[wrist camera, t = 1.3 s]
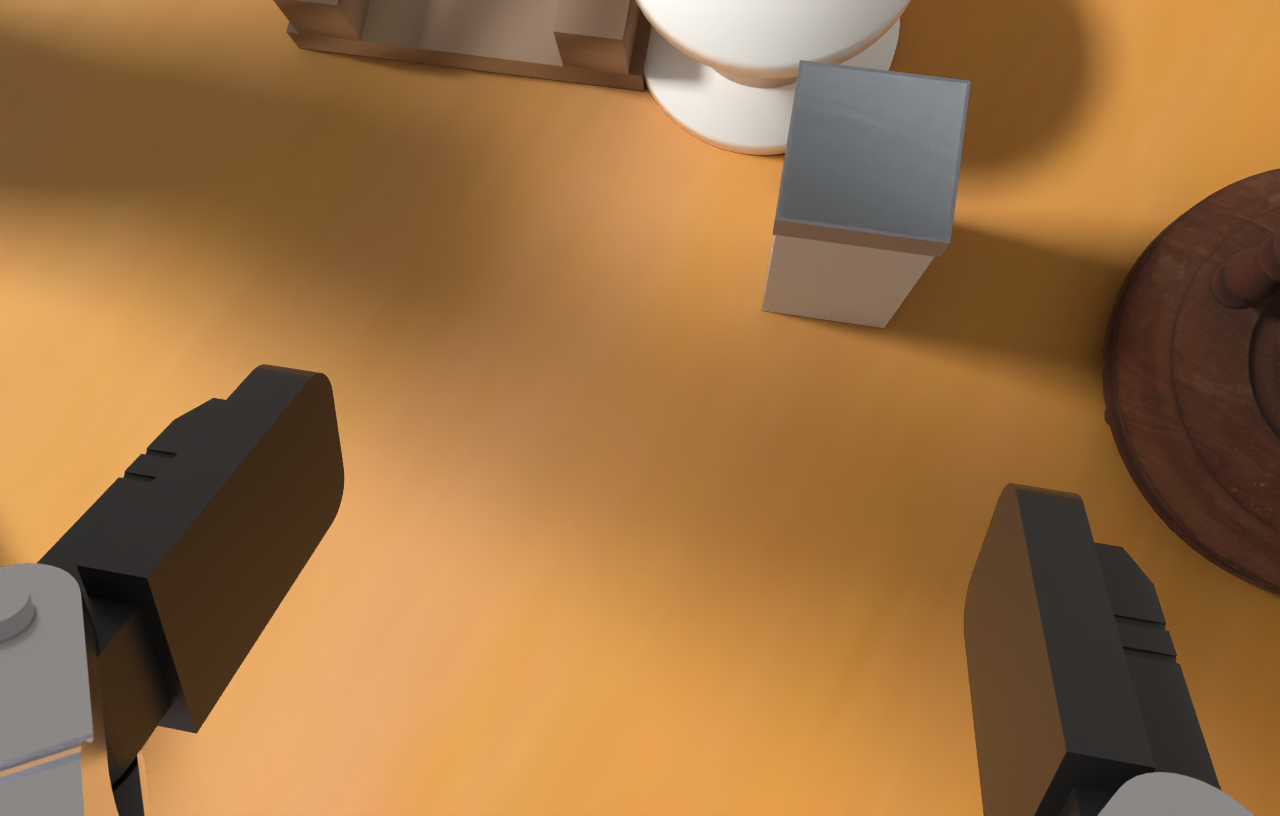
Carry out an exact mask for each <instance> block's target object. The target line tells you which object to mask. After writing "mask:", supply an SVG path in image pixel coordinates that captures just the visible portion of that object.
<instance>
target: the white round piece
mask: <svg viewBox="0 0 1280 816" xmlns="http://www.w3.org/2000/svg"><path fill="white" fill-rule="evenodd" d="M635 1H636V3H637V4H638V6H639V8H640V9H641V11H642V13H643V14H644V16H645V17H646V19H647V20H648V21H649V22H650V24H651V25H652V26H651V31H650V37H649V42H648V48H647V54H646V59H645V65H644V78H645V84H646V86H647V88H648V90H649V92H650V93H651V95H652V97H653V98H654V100H655V101H656V103H657V104H658V105H659V106H660V108H661V109H662V110H663V111H664V113H665V114H666V115H667V116H668V117H669V118H670V119H671V120H672V121H673V122H675V123H676V124H677V125H678V126H679V127H681V128H682V129H683V130H685V131H686V132H687V133H689V134H690V135H692V136H694V137H696V138H698V139H699V140H701V141H703V142H705V143H707V144H710V145H713V146H715V147H718V148H720V149H724V150H728V151H732V152H736V153H743V154H752V155H774V154H782V153H785V151H786V144H787V138H788V131H789V125H790V118H791V112H792V105H793V99H794V93H795V86H796V80H797V74H798V68H799V62H800V60H804V61H813V62H821V63H829V64H838V65H846V66H854V67H862V68H871V69H879V70H887V71H889V68H890V66H891V63H892V60H893V57H894V54H895V50H896V46H897V43H898V37H899V29H900V16H901V15H902V14H903V13H904V11H905V9H906V8H907V6H908V5H909V3H910V1H911V0H635Z"/></svg>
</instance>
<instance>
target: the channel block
mask: <svg viewBox="0 0 1280 816" xmlns="http://www.w3.org/2000/svg"><path fill="white" fill-rule="evenodd" d="M273 1H274V2H275V3H276V4H277V6H278V7H279V8H280V10H281V11H282V12H283V13H284V15H285V16H286V17H287V19H288V20H289V25H288V29H287V33H288V34H289V36H290V37H291V38H292V39H293V41H294V42H295V43H296V44H297V46H298V47H299V48H304V49H312V50H320V51H328V52H336V53H344V54H352V55H360V56H368V57H376V58H384V59H392V60H399V61H407V62H415V63H423V64H431V65H439V66H447V67H455V68H463V69H471V70H479V71H487V72H495V73H503V74H511V75H519V76H527V77H535V78H543V79H551V80H559V81H567V82H575V83H583V84H591V85H599V86H607V87H615V88H623V89H631V90H639V91H644V87H645V78H644V65H645V59H646V54H647V48H648V42H649V37H650V31H651V26H652V25H651V24H650V22H649V21H648V20H647V19H646V17H645V16H644V14H643V13H642V11H641V9H640V8H639V6H638V4H637V3H636V1H635V0H273Z"/></svg>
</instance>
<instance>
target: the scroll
mask: <svg viewBox="0 0 1280 816" xmlns="http://www.w3.org/2000/svg"><path fill="white" fill-rule="evenodd" d="M1102 376H1103V391H1104V399H1105V405H1106V411H1105V420H1106V423H1107V424H1108V425H1109V426H1110V427H1111V431H1112V434H1113V437H1114V440H1115V443H1116V445H1117V448H1118V450H1119V453H1120V456H1121V458H1122V460H1123V462H1124V464H1125V466H1126V468H1127V470H1128V472H1129V474H1130V476H1131V477H1132V479H1133V481H1134V482H1135V484H1136V485H1137V487H1138V489H1139V490H1140V492H1141V493H1142V495H1143V496H1144V498H1145V499H1146V500H1147V502H1148V503H1149V504H1150V506H1151V507H1152V508H1153V509H1154V511H1155V512H1156V513H1157V514H1158V516H1159V517H1160V518H1161V519H1162V520H1163V521H1164V522H1165V523H1166V524H1167V525H1168V526H1169V527H1170V529H1171V530H1172V531H1173V532H1175V533H1176V534H1177V535H1178V536H1179V537H1180V538H1181V539H1182V540H1183V541H1184V542H1186V543H1187V544H1188V545H1189V546H1190V547H1192V548H1193V549H1194V550H1196V551H1197V552H1198V553H1199V554H1201V555H1202V556H1203V557H1205V558H1206V559H1207V560H1209V561H1211V562H1212V563H1214V564H1215V565H1217V566H1219V567H1220V568H1222V569H1223V570H1225V571H1227V572H1228V573H1230V574H1232V575H1234V576H1236V577H1238V578H1240V579H1242V580H1244V581H1246V582H1248V583H1251V584H1253V585H1256V586H1258V587H1261V588H1263V589H1266V590H1268V591H1271V592H1274V593H1278V594H1280V169H1275V170H1271V171H1267V172H1264V173H1260V174H1257V175H1254V176H1251V177H1248V178H1245V179H1243V180H1240V181H1238V182H1235V183H1233V184H1231V185H1228V186H1227V187H1225V188H1223V189H1221V190H1219V191H1217V192H1215V193H1213V194H1211V195H1210V196H1208V197H1207V198H1205V199H1204V200H1202V201H1201V202H1199V203H1198V204H1196V205H1195V206H1193V207H1192V208H1191V209H1189V210H1188V211H1187V212H1185V213H1184V214H1182V215H1181V216H1180V217H1178V218H1177V219H1176V220H1175V221H1174V222H1172V223H1171V224H1170V225H1169V226H1168V227H1166V228H1165V229H1164V230H1163V231H1162V232H1161V233H1160V234H1159V235H1158V236H1157V237H1156V238H1155V239H1154V240H1153V241H1152V242H1151V243H1150V244H1149V246H1148V247H1147V248H1146V249H1145V251H1144V252H1143V253H1142V254H1141V256H1140V257H1139V258H1138V259H1137V261H1136V263H1135V264H1134V266H1133V267H1132V269H1131V270H1130V272H1129V274H1128V275H1127V277H1126V279H1125V281H1124V283H1123V285H1122V287H1121V289H1120V291H1119V293H1118V295H1117V298H1116V301H1115V303H1114V306H1113V309H1112V312H1111V315H1110V319H1109V323H1108V327H1107V331H1106V336H1105V343H1104V350H1103V369H1102Z"/></svg>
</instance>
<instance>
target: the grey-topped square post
mask: <svg viewBox="0 0 1280 816" xmlns="http://www.w3.org/2000/svg"><path fill="white" fill-rule="evenodd" d="M970 85H971V81H970V80H962V79H954V78H945V77H937V76H929V75H921V74H912V73H904V72H896V71H887V70H879V69H871V68H862V67H854V66H846V65H838V64H829V63H821V62H813V61H804V60H800V62H799V68H798V74H797V80H796V86H795V93H794V99H793V105H792V112H791V118H790V125H789V131H788V138H787V144H786V151H785V157H784V164H783V170H782V177H781V183H780V189H779V196H778V202H777V209H776V215H775V222H774V228H773V240H772V247H771V253H770V260H769V266H768V273H767V279H766V286H765V292H764V298H763V305H762V311H768V312H775V313H782V314H789V315H796V316H803V317H809V318H816V319H823V320H830V321H837V322H844V323H851V324H858V325H865V326H872V327H878V328H885V326H886V325H887V324H888V322H889V321H890V319H891V318H892V317H893V315H894V314H895V312H896V311H897V309H898V308H899V307H900V305H901V304H902V302H903V301H904V300H905V298H906V297H907V295H908V294H909V293H910V291H911V290H912V288H913V287H914V285H915V284H916V283H917V281H918V280H919V278H920V277H921V276H922V274H923V273H924V271H925V270H926V269H927V267H928V266H929V264H930V263H931V261H932V260H933V259H934V257H941V256H942V254H943V253H944V252H945V250H946V249H947V248H948V246H949V245H950V242H951V234H952V226H953V219H954V211H955V203H956V195H957V187H958V179H959V172H960V164H961V156H962V148H963V140H964V132H965V125H966V117H967V109H968V101H969V93H970Z"/></svg>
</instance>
